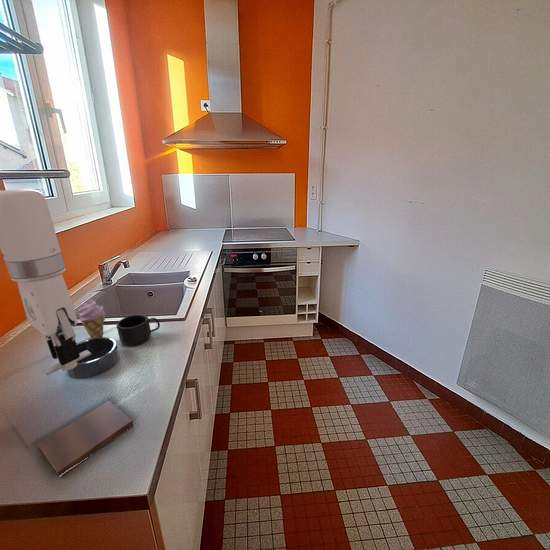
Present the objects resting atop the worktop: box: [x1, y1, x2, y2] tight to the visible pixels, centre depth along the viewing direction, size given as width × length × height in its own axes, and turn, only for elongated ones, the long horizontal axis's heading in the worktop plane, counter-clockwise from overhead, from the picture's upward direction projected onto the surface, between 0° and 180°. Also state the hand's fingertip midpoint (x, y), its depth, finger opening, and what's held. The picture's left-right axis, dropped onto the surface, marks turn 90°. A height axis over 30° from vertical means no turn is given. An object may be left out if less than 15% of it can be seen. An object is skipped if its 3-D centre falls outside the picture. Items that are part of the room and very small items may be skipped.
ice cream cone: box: [77, 299, 107, 339], centre depth 91 cm, size 7×6×15 cm
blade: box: [42, 332, 91, 376], centre depth 56 cm, size 8×3×8 cm, turn 144°
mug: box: [116, 314, 161, 347], centre depth 95 cm, size 12×9×7 cm
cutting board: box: [36, 400, 135, 476], centre depth 61 cm, size 14×10×2 cm
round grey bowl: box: [65, 336, 120, 380], centre depth 83 cm, size 13×13×5 cm
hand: (66, 357), depth 57 cm, fingers closed on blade, 2 cm apart
